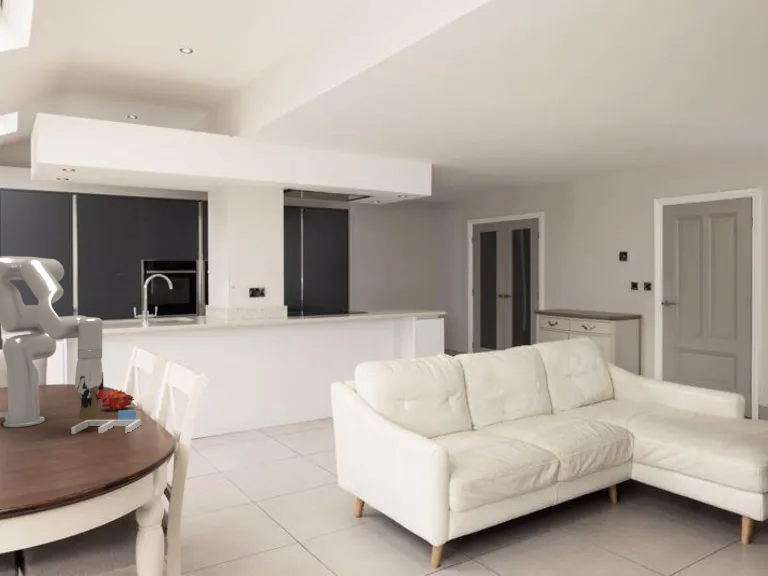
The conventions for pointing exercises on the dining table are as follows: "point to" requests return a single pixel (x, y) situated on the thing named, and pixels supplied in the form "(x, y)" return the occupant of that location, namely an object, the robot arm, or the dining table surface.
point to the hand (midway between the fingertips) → (89, 407)
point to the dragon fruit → (116, 400)
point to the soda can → (101, 389)
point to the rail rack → (111, 422)
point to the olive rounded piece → (93, 411)
